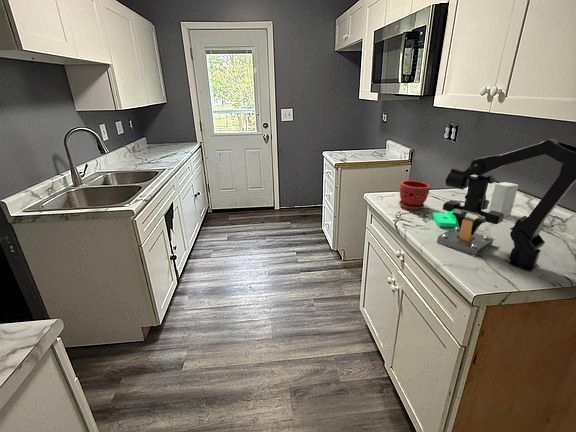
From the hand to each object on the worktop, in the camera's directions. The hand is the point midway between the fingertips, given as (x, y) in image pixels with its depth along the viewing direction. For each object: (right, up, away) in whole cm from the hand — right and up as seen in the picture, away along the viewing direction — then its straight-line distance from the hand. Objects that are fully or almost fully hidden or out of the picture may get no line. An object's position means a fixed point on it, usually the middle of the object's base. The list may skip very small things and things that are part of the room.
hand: (466, 233), depth 116 cm
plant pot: (-5, +11, +39) cm, 40 cm away
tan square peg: (0, -2, +1) cm, 3 cm away
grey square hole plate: (0, -4, +2) cm, 4 cm away
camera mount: (+2, +3, +20) cm, 20 cm away
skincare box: (+31, +7, +29) cm, 43 cm away
